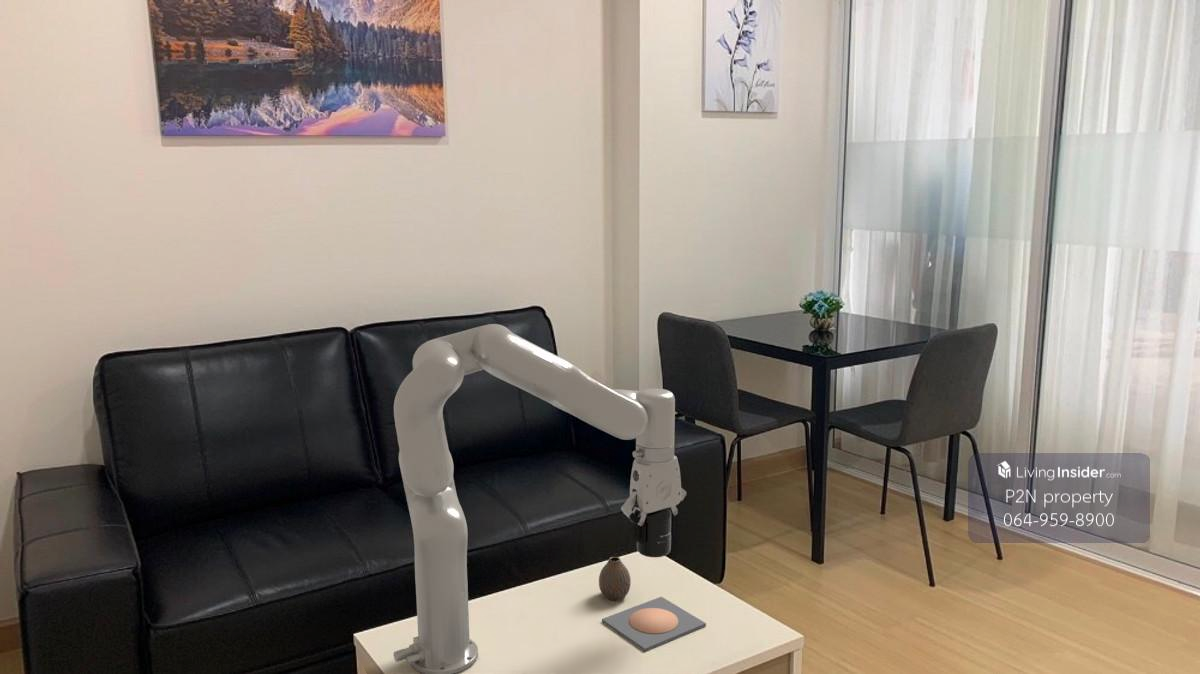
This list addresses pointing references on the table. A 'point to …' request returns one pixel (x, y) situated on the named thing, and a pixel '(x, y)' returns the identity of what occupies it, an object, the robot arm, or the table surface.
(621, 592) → the vase
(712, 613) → the table surface
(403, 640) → the table surface
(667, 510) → the supplement bottle
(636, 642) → the mat
